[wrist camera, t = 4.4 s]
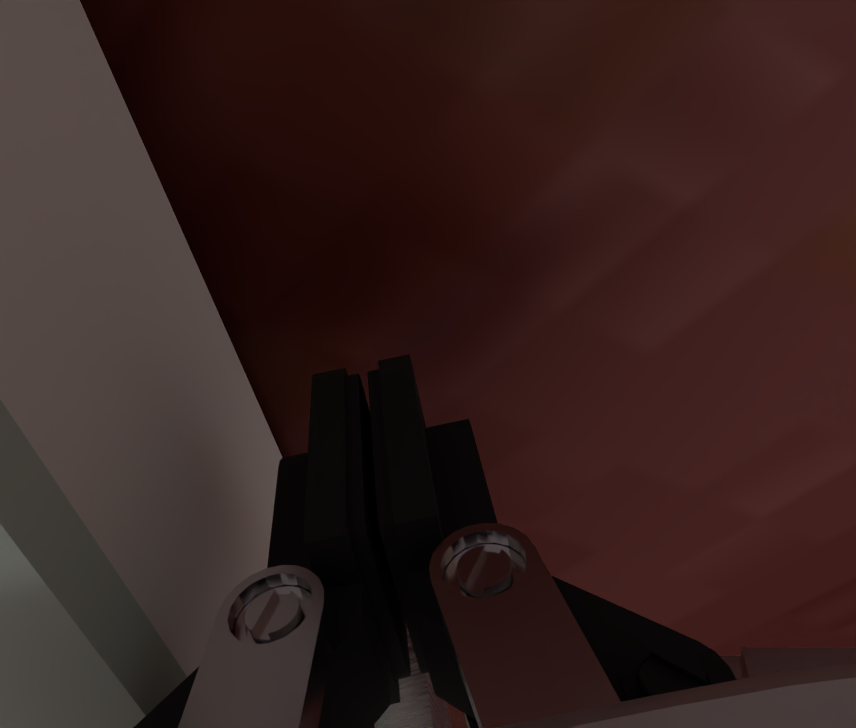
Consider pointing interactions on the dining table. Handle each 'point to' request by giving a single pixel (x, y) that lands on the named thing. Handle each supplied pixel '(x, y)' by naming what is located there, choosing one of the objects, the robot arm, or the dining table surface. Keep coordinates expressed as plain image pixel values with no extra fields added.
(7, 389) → the bar
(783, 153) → the dining table surface
